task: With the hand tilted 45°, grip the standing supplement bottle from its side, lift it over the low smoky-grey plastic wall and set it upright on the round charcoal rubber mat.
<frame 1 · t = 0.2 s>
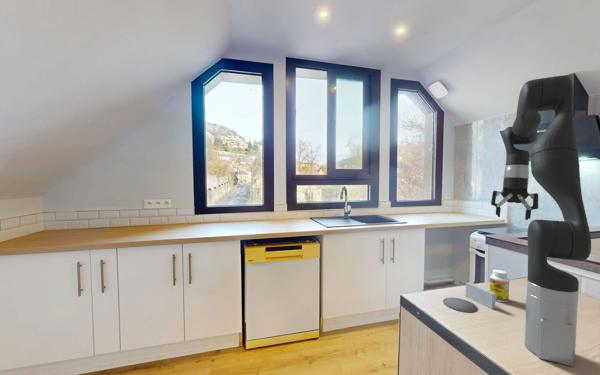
hand: (512, 218, 103), 28 cm above the counter, tool pointing down, fingers open, 8 cm apart
low wall: (479, 302, 93), on the counter
resting mat: (459, 304, 91), on the counter
supplement bottle: (498, 299, 95), on the counter
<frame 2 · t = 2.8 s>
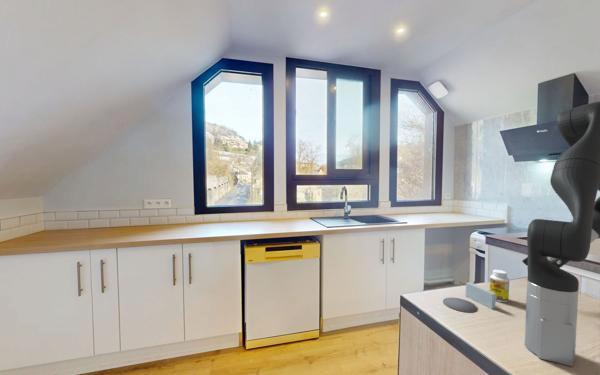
hand: (530, 267, 92), 13 cm above the counter, tool tilted 45°, fingers open, 8 cm apart
nothing on the counter moved.
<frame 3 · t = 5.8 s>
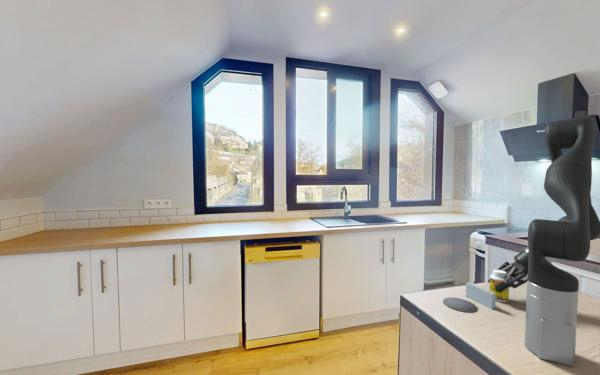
hand: (493, 286, 96), 4 cm above the counter, tool tilted 45°, fingers closed on supplement bottle, 5 cm apart
supplement bottle: (498, 299, 95), on the counter, touching gripper
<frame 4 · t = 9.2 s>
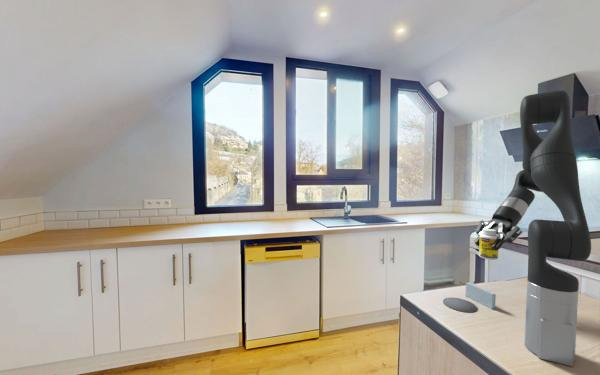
hand: (485, 246, 93), 19 cm above the counter, tool tilted 45°, fingers closed on supplement bottle, 5 cm apart
supplement bottle: (488, 258, 94), point 15 cm above the counter, touching gripper
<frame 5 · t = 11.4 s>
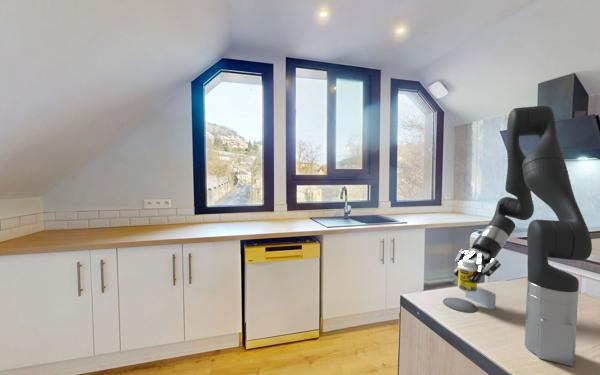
hand: (463, 278, 91), 9 cm above the counter, tool tilted 45°, fingers closed on supplement bottle, 5 cm apart
supplement bottle: (467, 290, 92), point 5 cm above the counter, touching gripper
when the fingers open (6 cm above the counter, at t = 13.0 s): supplement bottle drops 1 cm, resting on resting mat.
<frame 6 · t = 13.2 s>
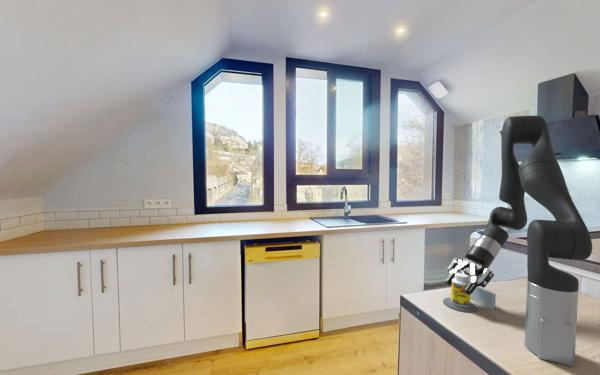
hand: (456, 288, 90), 6 cm above the counter, tool tilted 45°, fingers open, 7 cm apart
supplement bottle: (460, 304, 91), resting on resting mat
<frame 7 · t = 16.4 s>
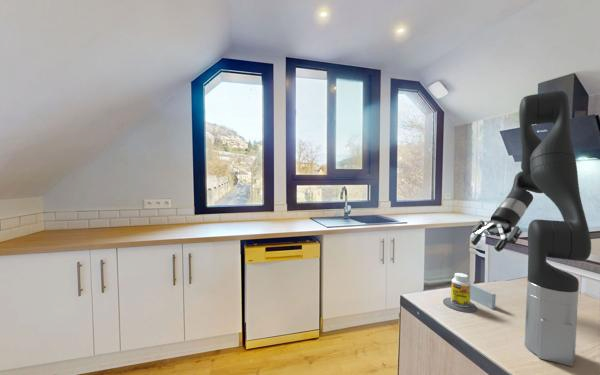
hand: (484, 246, 93), 19 cm above the counter, tool tilted 45°, fingers open, 8 cm apart
nothing on the counter moved.
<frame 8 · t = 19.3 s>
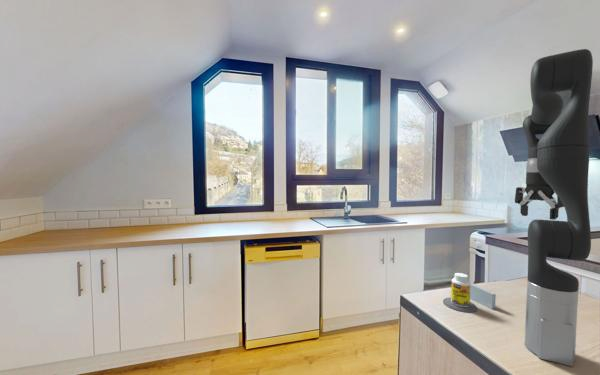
hand: (538, 217, 93), 30 cm above the counter, tool pointing down, fingers open, 8 cm apart
nothing on the counter moved.
at the end: supplement bottle 0.2 cm off-centre on the resting mat, point 0.1 cm above the resting mat's base; supplement bottle tilted 0°; the gripper is holding nothing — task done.
